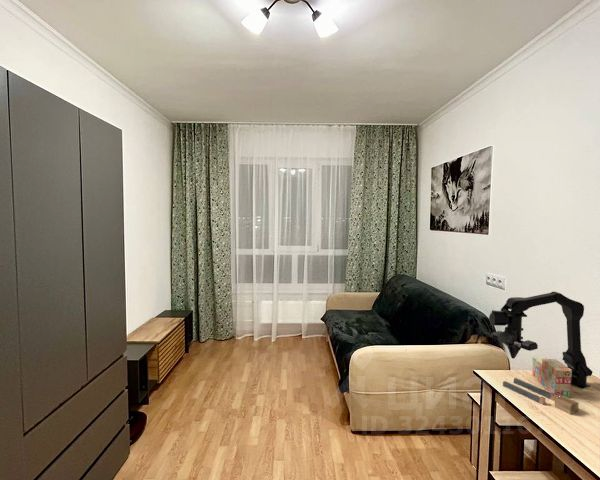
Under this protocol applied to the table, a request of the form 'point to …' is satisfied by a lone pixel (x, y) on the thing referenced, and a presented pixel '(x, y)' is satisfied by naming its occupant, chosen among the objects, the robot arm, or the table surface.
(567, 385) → the stack of blocks
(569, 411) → the walnut block
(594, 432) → the table surface
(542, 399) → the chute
